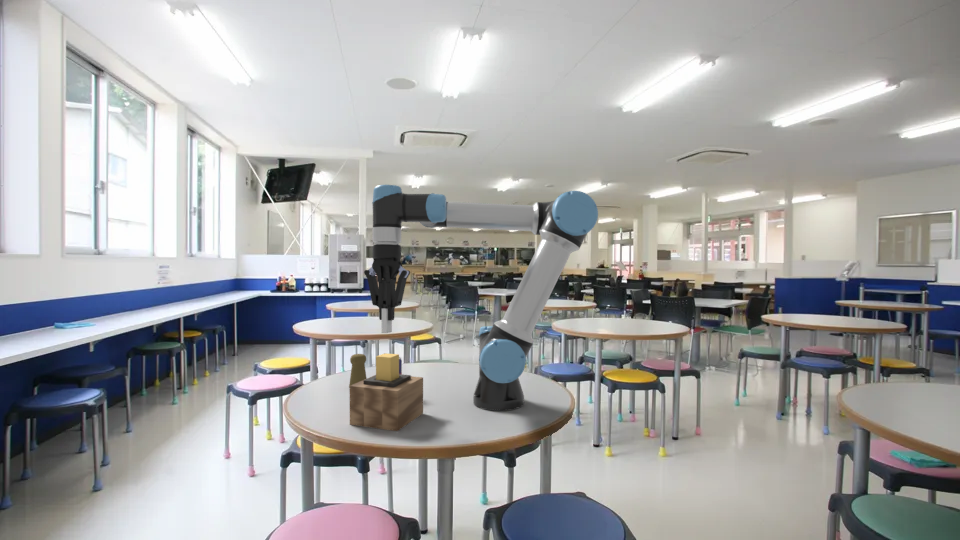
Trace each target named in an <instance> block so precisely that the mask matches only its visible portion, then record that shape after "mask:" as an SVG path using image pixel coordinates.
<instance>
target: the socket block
mask: <svg viewBox="0 0 960 540" xmlns="http://www.w3.org/2000/svg"><path fill="white" fill-rule="evenodd" d="M366 378H367V379H365V380H362V381H360V382H358V383H355V384H353V385H351V386H350V388H349V426H350V425H351V426H356V427H357V426H358V427H365V428H370V429H371V428H372V429H377V430H378V429H379V430H385V431H393V432H399V431H400V430H401V429H403V428H404V427H406V426H407V425H409V424H411V423H412V422H413V421H414V420H416V419H417V418H419V417H420V416H422V415H424V377H421V376H412V375H411V374H403V373H402V374H399V378H397V379H395V380H393V381H384V380H376V374H375V375H372V376H369V377H366Z"/></svg>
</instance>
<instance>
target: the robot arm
mask: <svg viewBox="0 0 960 540" xmlns="http://www.w3.org/2000/svg"><path fill="white" fill-rule="evenodd" d="M371 204H372V243H374V244H373V246H372V259H373V260H372V264H371V267H369V268H368V269H365V270H364V272H363V274H364V276H365V277H366V278H367V284H368V288H369V294H370V299H371V303H372V306H375V307H377V308H378V319H379V321H381V334H390V333H392V332H393V325H392V324H393V321H395V309H396V307H399V306H402V302H403V298H404V293H405V289H406V285H407V284H406V283H407V279H408V278H409V276H410V274H411V271H410V270H408V269H406V268H404V266H403V263H402V246H401V243H402V223H420V224H421V225H422V226H424V227H425V228H430V229H431V228H432V229H433V228H460V229H462V228H463V229H480V230H481V229H483V230H499V231H500V230H503V231H523V232H531V233H532V234H533V235H535V236H537V235H538V236H540V242H539V244H538V246H537V248H536V250H535V252H534V254H533V256H532V258H531V260H530V262H529V264H528V266H527V268H526V270H525V272H524V274H523V277H522V279H521V280H520V283H519V284H518V287H517V289H516V290H515V293H514V294H513V297H512V299H511V301H510V303H509V305H508V307H507V309H506V311H505V313H504V316H503V317H502V318H501V319H500V320H497V321H494V323H493V325H492V326H491V325H487V326H485V325H484V326H481V327H480V328H479V333H478V338H479V340H478V342H479V343H478V345H479V346H478V347H479V349H478V350H479V353H478V354H479V356H478V362H479V363H478V365H479V368H478V369H479V370H478V371H479V372H478V373H479V375H478V376H479V377H478V380H477V383H476V387H475V390H474V392H473V404H474V406H476V407H477V408H479V409H483V410H488V411H511V410H516V409H519V408H522V407H524V404H525V395H524V391H523V389H522V385H521V383H520V377H521V375H522V374H523V372H524V371H525V369H526V365H527V363H526V362H527V356H528V355H529V353H530V351H531V349H532V346H533V344H534V339H533V335H532V334H533V331H534V329H535V328H536V325H537V323H538V321H539V320H540V318H541V314H542V313H543V311H544V309H545V307H546V304H547V302H548V301H549V299H550V297H551V294H552V292H553V291H554V288H555V286H556V284H557V282H558V280H559V278H560V276H561V274H562V272H563V269H564V268H565V266H566V264H567V263H568V260H569V258H570V256H571V254H572V253H573V252H576V251H579V250H580V248H581V247H582V244H583V243H584V240H585V238H586V236H587V235H588V233H590V232H591V231H592V230H593V228H594V227H595V226H596V224H597V221H598V219H599V210H598V206H597V203H596V202H595V200H594V199H593V198H592V196H590V195H589V194H587V193H586V192H584V191H581V190H569V191H565V192H563V193H561V194H560V195H558V196H557V198H555V200H551V201H542V202H538V201H536V202H534V203H533V204H532V205H530V204H527V205H526V204H509V203H508V204H507V203H486V202H485V203H484V202H483V203H482V202H466V201H465V202H464V201H463V202H461V201H447V197H446V196H445V194H439V193H433V192H432V193H404V192H403V191H402V187H401V186H399V185H397V184H396V185H395V184H379V185H376V186H374V188H373V194H372V203H371ZM397 276H398V278H397Z"/></svg>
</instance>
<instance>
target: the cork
mask: <svg viewBox="0 0 960 540" xmlns="http://www.w3.org/2000/svg"><path fill="white" fill-rule="evenodd" d="M349 361H350V364H351V370H350V378H349V384H348V385H349V386H348V388H349V389H350V386H351V385H353V384H355V383H358V382H360V381H362V380H365V379H367V378H368V377H367V372H366V361H367V356H366V355H365V354H364V353H355V354H352V355H351V356H350V359H349Z"/></svg>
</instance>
